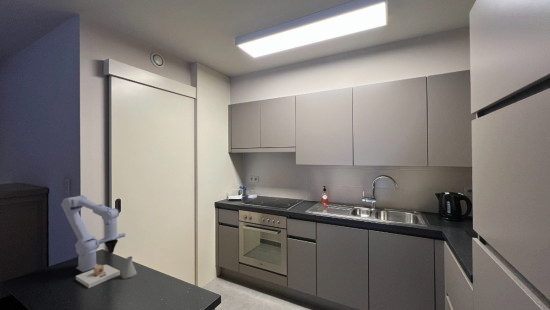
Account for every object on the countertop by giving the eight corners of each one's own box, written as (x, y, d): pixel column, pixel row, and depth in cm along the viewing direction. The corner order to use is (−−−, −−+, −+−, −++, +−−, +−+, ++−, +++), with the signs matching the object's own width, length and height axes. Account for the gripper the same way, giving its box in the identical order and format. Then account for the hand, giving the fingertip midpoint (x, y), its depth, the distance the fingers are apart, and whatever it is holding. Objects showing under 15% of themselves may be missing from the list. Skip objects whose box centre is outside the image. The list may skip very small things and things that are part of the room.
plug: (94, 277, 118) (93, 266, 118) (100, 275, 121) (100, 264, 121) (98, 280, 115) (98, 269, 116) (104, 277, 118) (104, 266, 118)
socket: (75, 279, 116) (75, 275, 116) (106, 267, 129) (106, 263, 129) (88, 288, 109) (88, 283, 109) (119, 274, 121) (119, 270, 121)
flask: (124, 280, 115) (124, 262, 115) (119, 276, 119) (119, 258, 119) (139, 274, 120) (139, 256, 120) (134, 270, 125) (133, 253, 125)
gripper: (99, 234, 119) (99, 259, 119) (127, 227, 132) (128, 249, 132) (93, 232, 123) (93, 256, 123) (121, 225, 136) (122, 247, 135)
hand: (111, 252), depth 128 cm, fingers closed
